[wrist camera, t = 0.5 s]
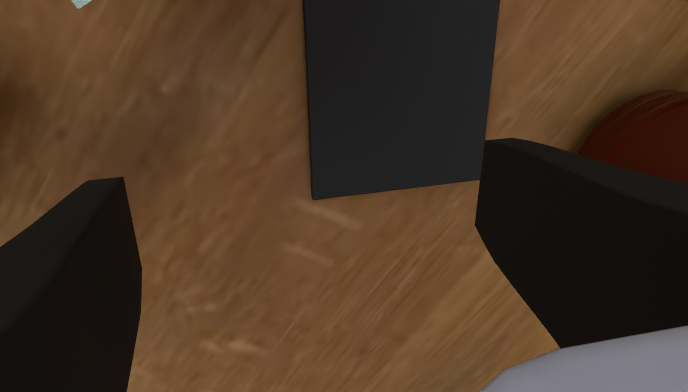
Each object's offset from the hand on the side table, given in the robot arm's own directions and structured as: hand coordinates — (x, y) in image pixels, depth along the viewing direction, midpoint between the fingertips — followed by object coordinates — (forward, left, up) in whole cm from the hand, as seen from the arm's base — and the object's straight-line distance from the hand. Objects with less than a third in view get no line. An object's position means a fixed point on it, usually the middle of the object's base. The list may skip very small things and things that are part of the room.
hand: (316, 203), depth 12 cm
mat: (-1, -5, -10) cm, 11 cm away
